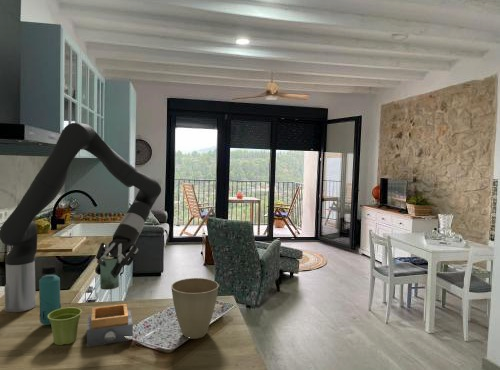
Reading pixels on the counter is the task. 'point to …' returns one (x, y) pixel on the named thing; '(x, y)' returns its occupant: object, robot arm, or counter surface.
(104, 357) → the counter surface
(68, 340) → the plant pot
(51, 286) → the beverage bottle
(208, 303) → the plant pot
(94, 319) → the gearbox
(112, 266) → the spout can
